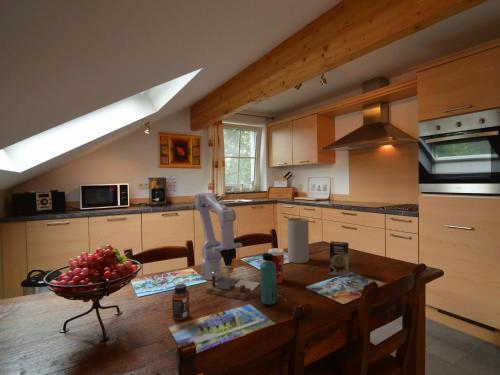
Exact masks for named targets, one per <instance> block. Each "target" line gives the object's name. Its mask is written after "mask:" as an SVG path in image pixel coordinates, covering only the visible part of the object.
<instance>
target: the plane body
mask: <svg viewBox="0 0 500 375" xmlns="http://www.w3.org/2000/svg"><path fill="white" fill-rule="evenodd" d="M206 293H207V294H212V295H217V296H221V297H226V298H232V299H238V300H243V301H244V300H245V299H246V298H247V297H248V296H249V295H250V294H251V291H250V288H245V285H241V286H240V287H239V286H235V287H234V288H233V289H232V290H231V291H227V290H221V289H218V282H217V281H215V276H212V280H211V284H210V285H209V286H207V287H206Z"/></svg>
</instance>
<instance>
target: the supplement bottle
mask: <svg viewBox="0 0 500 375" xmlns="http://www.w3.org/2000/svg"><path fill="white" fill-rule="evenodd" d="M171 298H172V301H171V302H172V303H171V304H172V318H173V320H176V321H183V320H186V319H188V318H189V317H190V313H191V311H190V291H189V290H188V289H187V284H184V283H179V284H176V285H175V286H174V291H173V292H172V295H171Z"/></svg>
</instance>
